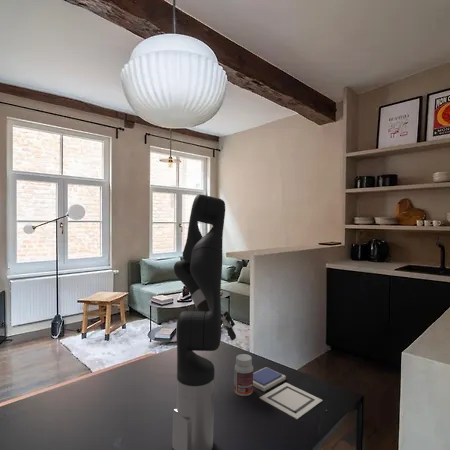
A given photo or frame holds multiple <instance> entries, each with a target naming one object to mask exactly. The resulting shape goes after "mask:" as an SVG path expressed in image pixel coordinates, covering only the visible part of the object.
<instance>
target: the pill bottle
mask: <svg viewBox="0 0 450 450" xmlns="http://www.w3.org/2000/svg"><path fill="white" fill-rule="evenodd" d="M252 363H253V358H252V356H251V355H249V354H245V353H241V354H238V355H236V357H235V365H234V371H233V372H234V376H233V377H234V381H233V382H234V383H233V385H234V386H233V388H234V389H233V390H234V391H233V392H234V393H235V394H236V395H238V396H241V397H248V396H250V395H252V394H253V392H254V386H253V373H254V365H253V364H252Z"/></svg>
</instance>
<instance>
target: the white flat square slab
mask: <svg viewBox="0 0 450 450" xmlns="http://www.w3.org/2000/svg"><path fill="white" fill-rule="evenodd" d="M258 399H260V400H261V401H263V402H265V403H267V404H269V405H271V406H272V407H274V408H276V409H278V410H280V411H281V412H284V413H285V414H287V415H289V416H290V417H292V418H294V419H295V420H298V419H300V418H301V417H302V416H304V415H306V413H308V412H309V411H311V410H312V409H313V408H315V407H317V405H318V404H321V402H323V399H321V398H320V397H317V396H315V395H313V394H311V393H309V392H307V391H305V390H303V389H300V388H298V387H296V386H294V385H292V384H290V383H288V382H284V383H283V384H281V385H279V386H276V387H275V388H274V389H271V390H270V391H269V392H267V393H264V394H263V395H261V396H260V397H259V398H258Z"/></svg>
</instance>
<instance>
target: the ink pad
mask: <svg viewBox="0 0 450 450" xmlns="http://www.w3.org/2000/svg"><path fill="white" fill-rule="evenodd" d="M286 378H287V376H286V375H285V374H282V373H280V372H278V371H277V370H276V371H275V370H273V369H271V368H270V367H267V366H265V367H264V368H261V369H259V370H257V371H255V372H253V388H257V389H258V390H260V391H262V392H266V391H267V390H270V389H271V388H273V387H275V386H277V385H279V384H280V383H282V382H284V381H285V380H286Z"/></svg>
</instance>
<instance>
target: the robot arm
mask: <svg viewBox="0 0 450 450" xmlns="http://www.w3.org/2000/svg"><path fill="white" fill-rule="evenodd" d="M190 210H191V211H190V215H189V220H188V221H189V222H188V228H187V236H186V241H185V245H184V247H183V251H182V260H179V261H176V262H175V263H174V265H173V271H174V274H175V277H176V278H177V279H178V280H179V281H180V282H181V283H182V284H183V285H184V286H185V287H186V289H187V290H188V292H189V294H190V296H191V298H192V302H193V303H194V306H195V308H196V310H195V311H194V310H185V311H181V312H180V313H179V314H178V317H177V321H176V362H177V363H176V407H175V408H173V409H172V439H171V440H172V444H171V445H172V446H171V447H172V448H173V450H212V449H213V448H214V417H215V415H214V412H215V410H214V409H215V408H214V407H215V373H216V372H215V371H216V370H215V365H214V363H213V362H212V361H210V360H209V359H207V358H206V357H202V356H201V355H199V354H197V353H196V352H194V351H197V352H203V351H204V352H213V351H217V350H218V349H219V348H220V344H221V340H222V329H224V330H225V331H226V332H227V334H228V336H229V339H230V340H231V341H235V339H237V335H236V333H235V331H234V329H233V327H234V326H235V325H236V323H235V321H234V320H233V318H232V316H231V315H230V313H229V311H225V312H222V302H221V300H222V298H221V295H222V292H221V291H222V290H221V289H222V274H223V273H222V272H223V237H224V235H223V234H224V225H225V217H226V202H225V201H224V200H223V199H221V198H219V197H215V196H209V195H207V194H199V193H198V194H197V195H196V196H195V198H194V200H193V202H192V205H191V209H190ZM199 223H203V224H206V225H211V226H212V227H211V228H210V230H209V231H208V232H207V233H206V234H205V235H204V236H203V235H202V232H201V231H200V227H199Z"/></svg>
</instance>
